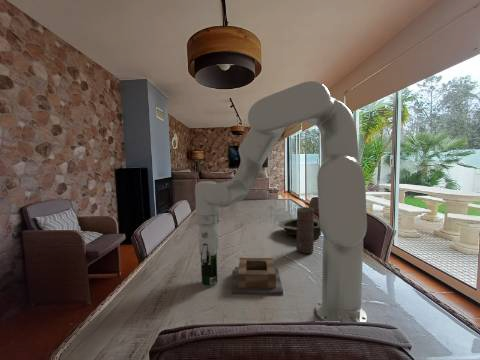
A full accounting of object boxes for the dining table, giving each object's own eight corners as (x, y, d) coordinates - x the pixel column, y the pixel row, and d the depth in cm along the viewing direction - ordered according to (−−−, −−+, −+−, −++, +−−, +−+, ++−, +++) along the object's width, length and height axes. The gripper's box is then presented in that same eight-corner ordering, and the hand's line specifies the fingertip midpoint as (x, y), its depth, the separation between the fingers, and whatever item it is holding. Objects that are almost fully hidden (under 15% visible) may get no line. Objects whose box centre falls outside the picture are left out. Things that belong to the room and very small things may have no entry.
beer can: (220, 283, 79) (219, 248, 78) (208, 289, 75) (207, 253, 74) (210, 277, 82) (209, 245, 81) (198, 283, 79) (197, 249, 77)
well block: (283, 294, 71) (283, 277, 71) (231, 293, 72) (231, 277, 72) (277, 269, 87) (277, 255, 87) (235, 269, 88) (234, 255, 88)
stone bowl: (333, 242, 114) (332, 224, 113) (282, 246, 115) (281, 228, 114) (317, 226, 138) (316, 211, 137) (275, 230, 139) (274, 215, 138)
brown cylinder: (314, 255, 99) (314, 210, 97) (296, 254, 101) (296, 209, 99) (312, 249, 107) (312, 206, 105) (296, 248, 108) (296, 205, 106)
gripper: (214, 226, 68) (216, 284, 69) (222, 212, 85) (223, 259, 87) (189, 226, 68) (191, 284, 70) (202, 212, 85) (203, 259, 87)
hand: (209, 269), depth 78 cm, fingers open, 6 cm apart
